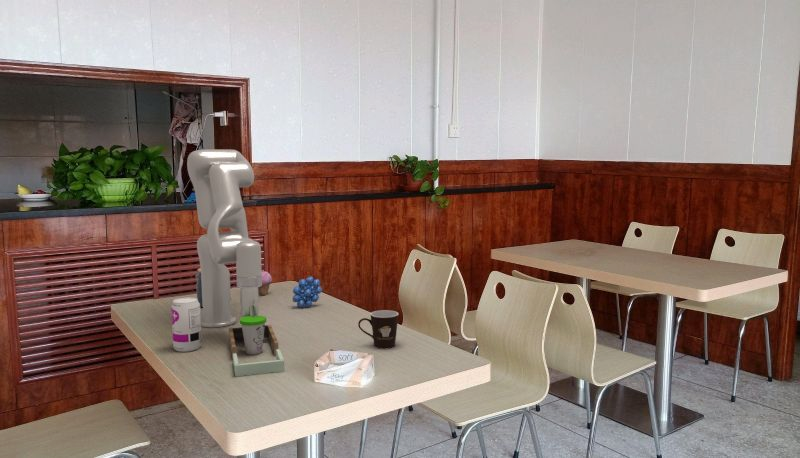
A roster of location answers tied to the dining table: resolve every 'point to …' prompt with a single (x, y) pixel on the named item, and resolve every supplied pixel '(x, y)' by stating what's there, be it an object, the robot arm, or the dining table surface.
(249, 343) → the cup
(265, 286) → the cupcake
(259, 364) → the bay
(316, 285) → the grapes
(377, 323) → the coffee mug
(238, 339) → the brown wooden tray
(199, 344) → the supplement can
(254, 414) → the dining table surface
